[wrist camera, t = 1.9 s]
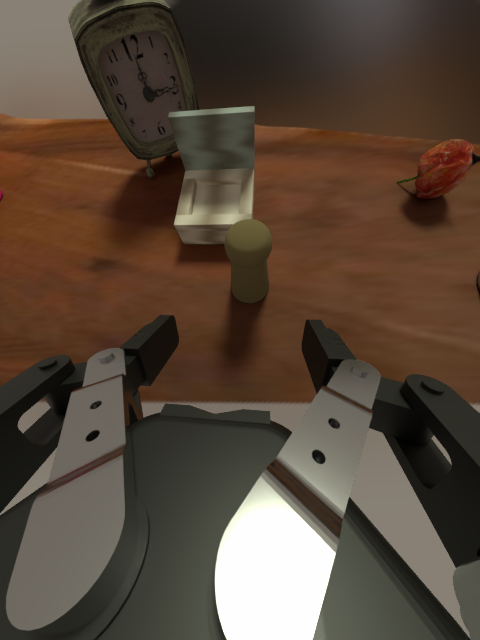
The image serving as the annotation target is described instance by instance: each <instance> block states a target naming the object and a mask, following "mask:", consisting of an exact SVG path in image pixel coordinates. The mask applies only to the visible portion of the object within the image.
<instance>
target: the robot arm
mask: <svg viewBox="0 0 480 640" xmlns="http://www.w3.org/2000/svg"><path fill="white" fill-rule="evenodd" d="M478 285H479V289H480V272H479V275H478ZM178 343H179V336H178V331H177V326H176V321H175V317H174V316H173V315H160V316H158V317H157V318H156V319H155V320H154V321H153V322H152V323H150V324H148V325H146V326H144V327H143V328H141V329H140V330H139V331H138V332H137V333H136V334H135V335H134V336H132V337H131V338H130V339H129V340H128V341H126V342H125V343H124V344H123V345H122V346H121V347H120V348H111V349H107V350H103V351H101V352H99V353H97V354H95V355H93V356H92V357H91V358H90V359H89V360H88V362H84V363H77V364H73V363H72V361H71V359H70V357H69V356H66V355H60V356H54V357H51V358H47V359H45V360H42V361H40V362H38V363H36V364H35V365H33V366H31V367H30V368H28V369H27V370H25V371H24V372H22V373H21V374H19V375H18V376H16V377H15V378H13V379H11V380H10V381H8V382H7V383H5V384H4V385H2V386H1V387H0V513H1V512H2V511H3V509H4V508H5V507H6V506H7V505H8V504H9V502H10V501H11V500H12V499H13V498H14V497H15V495H16V494H17V493H18V492H19V491H20V489H21V488H22V487H23V486H24V485H25V484H26V483H27V481H28V480H29V479H30V478H31V477H32V475H33V474H34V473H35V472H36V471H37V470H38V469H39V467H40V466H41V465H42V464H43V463H44V462H45V461H46V459H47V458H48V457H49V456H50V454H52V452H53V451H54V450H55V449H56V448H57V451H56V454H55V458H54V462H53V466H52V470H51V474H50V478H49V481H48V483H47V484H45V485H43V486H42V487H41V488H39V489H38V490H36V491H35V492H33V493H32V494H30V495H29V496H28V497H26V498H25V499H23V500H22V501H20V502H19V503H18V504H16V505H15V506H13V507H12V508H10V509H9V510H7V511H6V512H5V513H3V514H2V515H0V640H470V639H471V640H480V413H478V412H477V411H476V410H475V409H474V408H473V407H472V406H471V405H470V404H468V403H467V402H466V401H465V400H464V399H463V398H462V397H461V396H460V395H458V394H457V393H456V392H455V391H454V390H453V389H451V388H450V387H449V386H447V385H446V384H444V383H442V382H440V381H438V380H436V379H433V378H431V377H428V376H424V375H418V374H412V375H409V376H407V378H406V380H405V382H404V383H403V382H399V381H395V380H391V379H387V378H383V377H381V376H380V373H379V372H378V371H377V370H376V369H375V368H374V367H373V366H371V365H369V364H368V363H365V362H363V361H360V360H357V359H356V358H355V356H354V355H353V354H352V352H351V351H350V350H349V348H348V347H347V346H346V345H345V343H344V342H343V340H342V339H341V338H340V336H339V335H338V334H337V333H336V332H334V331H333V330H331V329H327V328H326V327H325V325H324V324H323V322H322V321H321V320H306V323H305V328H304V334H303V339H302V352H303V355H304V358H305V361H306V364H307V367H308V370H309V373H310V375H311V378H312V381H313V384H314V387H315V390H316V393H317V395H316V397H315V398H314V400H313V401H312V403H311V405H310V406H309V408H308V409H307V411H306V412H305V414H304V415H303V417H302V418H301V420H300V422H299V423H298V425H297V426H296V428H295V430H294V431H293V432H291V431H290V430H288V429H287V428H285V427H284V426H282V425H280V424H278V423H276V422H273V421H271V420H270V412H269V411H258V410H244V409H242V410H237V411H231V412H224V413H218V414H213V413H210V412H207V411H204V410H201V409H199V408H196V407H193V406H190V405H177V404H165V405H164V407H163V409H162V411H161V413H157V414H153V415H150V416H147V417H145V418H143V412H142V406H141V400H140V393H139V390H138V388H139V387H140V385H141V386H151V384H152V383H153V381H154V380H155V378H156V377H157V376H158V374H159V373H160V371H161V370H162V368H163V367H164V365H165V364H166V362H167V361H168V359H169V358H170V356H171V355H172V353H173V352H174V351H175V349H176V348H177V346H178ZM42 398H44V399H45V400H46V402H47V403H48V404H49V406H50V407H51V408H50V409H49V410H48V411H47V412H46V413H45V414H44V415H43V416H42V417H41V418H39V419H38V420H37V421H36V422H35V423H34V424H33V425H32V426H31V427H30V428H29V429H27V430H26V431H25V432H24V433H22V432H21V431H20V430H19V429H18V426H17V425H18V421H19V419H20V417H21V416H22V415H23V413H25V412H26V411H27V410H29V409H30V408H31V407H32V406H33V405H34V404H36V403H37V402H38V401H39V400H40V399H42ZM369 428H371V429H374V430H376V431H379V432H382V433H383V434H384V436H385V438H386V439H387V441H388V443H389V445H390V447H391V449H392V450H393V452H394V454H395V456H396V458H397V460H398V461H399V464H400V465H401V467H402V469H403V471H404V473H405V475H406V476H407V478H408V480H409V482H410V484H411V486H412V487H413V489H414V491H415V493H416V495H417V497H418V499H419V500H420V502H421V504H422V506H423V508H424V510H425V511H426V513H427V515H428V517H429V519H430V520H431V522H432V524H433V526H434V528H435V530H436V531H437V533H438V535H439V537H440V539H441V541H442V543H443V545H444V547H445V548H446V550H447V552H448V554H449V556H450V558H451V559H452V561H453V563H454V565H455V567H456V570H455V571H454V575H453V585H454V590H455V594H456V597H457V600H458V602H459V605H460V613H461V617H462V619H463V622H464V624H465V626H466V628H467V629H468V631H469V634H470V638H469V637H468V636H467V635H466V633H465V632H464V631H463V630H462V628H461V627H460V626H459V624H458V623H457V622H456V621H455V620H454V618H453V617H452V616H451V615H450V614H449V613H448V612H447V610H446V609H445V608H444V607H443V605H442V604H441V603H440V602H439V601H438V600H437V598H436V597H435V596H434V595H433V594H432V593H431V591H430V590H429V589H428V588H427V587H426V586H425V584H424V583H423V582H422V581H421V580H420V579H419V577H418V576H417V575H416V574H415V573H414V572H413V570H412V569H411V568H410V567H409V566H408V565H407V563H406V562H405V561H404V560H403V559H402V558H401V556H400V555H399V554H398V553H397V552H396V551H395V549H394V548H393V547H392V546H391V545H390V544H389V542H388V541H387V540H386V539H385V538H384V537H383V535H382V534H381V533H380V532H379V531H378V530H377V528H376V527H375V526H374V525H373V524H372V523H371V521H370V520H369V519H368V518H367V517H366V516H365V514H364V513H363V512H362V511H361V510H360V509H359V507H358V506H357V505H356V504H355V503H354V502H353V501H352V499H351V498H350V497H349V495H350V492H351V488H352V485H353V481H354V478H355V474H356V471H357V467H358V464H359V460H360V457H361V453H362V450H363V446H364V443H365V439H366V436H367V432H368V429H369ZM434 435H435V437H436V438H437V439H438V440H439V442H440V443H441V444H442V446H443V447H444V448H445V449H446V451H447V452H448V454H449V456H450V459H451V462H452V465H451V464H450V463H449V462H448V460H447V459H446V457H445V456H444V455H443V453H442V452H441V451H440V450H439V448H438V447H437V446H436V444H435V443H434V442H433V440H432V439H431V438H432V437H433V436H434Z"/></svg>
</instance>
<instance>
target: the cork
mask: <svg viewBox="0 0 480 640" xmlns="http://www.w3.org/2000/svg"><path fill="white" fill-rule="evenodd" d="M224 247H225V251H226V255H227V257H228V258H229V259H230V261H231V290H232V293H233V295H234V296H235V298H237V299H238V300H239V301H241V302H244V303H255V302H258V301H260V300H261V299H263V298H264V297H265V296H266V294H267V292H268V290H269V279H268V269H267V258H268V257H269V255H270V252H271V249H272V237H271V234H270V231H269V230H268V228H267V227H266V226H265V225H264V224H263V223H261V222H259V221H257V220H253V219H245V220H241V221H238V222H236V223H235V224H233V225H232V226H231V227H230V228H229V230H228V232H227V234H226V236H225V243H224Z"/></svg>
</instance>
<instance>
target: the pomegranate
mask: <svg viewBox="0 0 480 640" xmlns="http://www.w3.org/2000/svg"><path fill="white" fill-rule="evenodd" d="M473 150H474V149H473V147H472V145H471V143H470V142H467V141H465V140H460V139H451V140H448V141H444V142H443V143H441V144H439V145H437V146H436V147H434V148H432V149H431V150H429V151H427V152H426V153H425V154H424V155H423V156H422V157H421V158H420V159H419V164H418V176H416V177H413V178H410V179H406V180H402V181H398V183H402V182H405V181H407V182H408V181H410V180H413V179H416V181H415V186H416V191H417V193H416V196H417V197H418V198H420V199H430V198H436V197H439V196H442V195H444V194H446V193H448V192H450V191H451V190H453V189H454V188H455V187H457V186H458V185H459V184H460V183H461V182H462V181H463V180H464V179H465V178H466V176H467V174H468V172H469V170H470V168H471V167H472V166H473V165H474V164H476V163H478V162H480V156H477V155H475V154H473Z"/></svg>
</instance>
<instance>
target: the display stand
mask: <svg viewBox="0 0 480 640" xmlns="http://www.w3.org/2000/svg"><path fill="white" fill-rule="evenodd" d="M168 120H169V123H170V126H171V129H172V132H173V135H174V138H175V141H176V144H177V147H178V150H179V153H180V156H181V159H182V162H183V165H184V168H185V175H184V180H183V184H182V189H181V194H180V198H179V203H178V208H177V213H176V217H175V222H174V226H175V228H176V230H177V232H178V234H179V236H180V238H181V240H182V242H183V243H184V244H224V243H225V236H226V234H227V232H228V230H229V228H230V227H231V226H232V225H233V224H235V223H236V222H238V221H241V220H245V219H253V205H254V106H250V107H236V108H222V109H209V110H193V111H179V112H169V115H168Z"/></svg>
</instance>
